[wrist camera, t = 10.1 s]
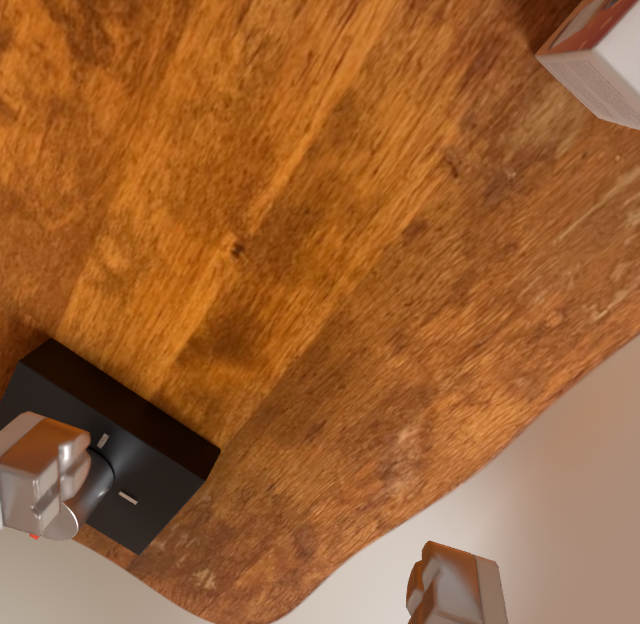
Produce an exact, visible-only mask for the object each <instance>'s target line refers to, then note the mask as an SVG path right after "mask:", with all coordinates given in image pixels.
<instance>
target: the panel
mask: <svg viewBox="0 0 640 624" xmlns="http://www.w3.org/2000/svg"><path fill="white" fill-rule="evenodd" d="M28 411H30V412H33V413H36V414H39V415H42V416H45V417H48V418H51V419H54V420H57V421H59V422H62V423H65V424H68V425H71V426H74V427H76V428H79V429H82V430H85V431H87V432H89V433H90V437H91V444H90V445H89V446H88V447H87V448H88V449H90V450H92V451H94V452H96V453H97V454H99V455H100V456H101V457H102V458H103V459H104V460H105V461H106V462H107V463H108V464H109V466H110V468H111V470H112V472H113V476H114V481H113V484H112V486H111V488H110V489H109V491H108V492H107V493H106V495H105V496H104V497H103V499H102V500H101V501H100V503H99V504H98V505H97V507H96V508H95V509H94V511H93V512H92V513H91V515H90V516H89V518H88V519H87V520H86V522H85V523H86V524H88V525H90V526H91V527H93V528H95V529H96V530H98V531H100V532H101V533H103V534H104V535H106V536H108V537H109V538H111V539H113V540H114V541H116V542H118V543H119V544H121V545H122V546H124V547H126V548H127V549H129V550H131V551H132V552H134V553H136V554H137V555H140V554H141V553H142V552H143V551H144V550H145V549H146V548H147V546H148V545H149V544H150V543H151V542H152V541H153V540H154V539H155V538H156V536H157V535H158V534H159V533H160V532H161V531H162V530H163V529H164V527H165V526H166V525H167V524H168V523H169V522H170V521H171V520H172V518H173V517H174V516H175V515H176V514H177V513H178V512H179V511H180V510H181V508H182V507H183V506H184V505H185V504H186V503H187V502H188V501H189V499H190V498H191V497H192V496H193V495H194V494H195V493H196V492H197V491H198V489H199V488H200V487H201V486H202V485H203V484H204V483H205V481H206V479H207V478H208V476H209V474H210V472H211V470H212V468H213V466H214V464H215V462H216V460H217V458H218V456H219V454H220V452H221V450H220V449H218V448H217V447H215V446H213V445H212V444H210V443H209V442H207V441H206V440H204V439H203V438H201V437H200V436H198V435H197V434H195V433H194V432H192V431H191V430H189V429H188V428H186V427H185V426H183V425H182V424H180V423H179V422H177V421H176V420H174V419H173V418H171V417H170V416H168V415H167V414H165V413H164V412H162V411H161V410H159V409H158V408H156V407H155V406H153V405H152V404H150V403H148V402H147V401H145V400H144V399H142V398H141V397H139V396H138V395H136V394H135V393H133V392H132V391H130V390H129V389H127V388H126V387H124V386H123V385H121V384H120V383H118V382H117V381H115V380H114V379H112V378H111V377H109V376H108V375H106V374H105V373H103V372H102V371H100V370H99V369H97V368H96V367H94V366H93V365H91V364H90V363H88V362H87V361H85V360H84V359H82V358H80V357H79V356H77V355H76V354H74V353H73V352H71V351H70V350H68V349H67V348H65V347H64V346H62V345H61V344H59V343H58V342H56V341H55V340H53V339H52V338H50V339H49V340H47V341H46V342H45V343H43V344H42V345H40V346H39V347H38V348H36V349H35V350H33V351H32V352H31V353H29V354H28V355H27V356H25V357H24V358H22V359H21V360H20V361H19V362H18V364H17V366H16V369H15V371H14V373H13V375H12V378H11V380H10V382H9V384H8V386H7V389H6V391H5V393H4V395H3V398H2V400H1V402H0V431H1V430H2V429H3V428H4V427H6V426H7V425H8V424H9V423H10V422H12V421H13V420H14V419H15V418H16V417H18V416H19V415H20V414H22V413H25V412H28Z"/></svg>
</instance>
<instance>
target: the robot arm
mask: <svg viewBox="0 0 640 624" xmlns="http://www.w3.org/2000/svg"><path fill="white" fill-rule="evenodd" d="M90 444H91V437H90V433H89V432H87V431H85V430H82V429H79V428H76V427H74V426H71V425H68V424H65V423H62V422H59V421H57V420H54V419H51V418H48V417H45V416H42V415H39V414H36V413H33V412H30V411H28V412H25V413H22V414H20V415H19V416H18V417H16V418H15V419H14V420H13V421H12V422H10V423H9V424H8V425H7V426H6V427H4V428H3V429H2V430H1V431H0V530H1V529H3V528H4V526H6V527H10V528H13V529H16V530H19V531H23V532H26V533H29V534H33V535H36V536H39V537H40V536H41V535H42V534H43V533H44V532H45V530H46V529H47V528H48V527H49V526H50V524H51V523H52V522H53V521H54V520H55V518H56V517H57V516H58V515H59V514H60V513H61V502H63V501H65V500H67V499H69V498H72V497H74V496H75V494H76V493H77V492H78V491H79V489H80V488H81V487H82V485H83V483H84V481H85V479H86V477H87V476H88V473H89V469H90V465H91V457H90V455H89V454H88V452H87V451H86V448H87V447H88V446H89V445H90ZM406 608H407V609H408V611H409V613H410V615H411V619H410V620H409V623H408V624H508V619H507V613H506V607H505V602H504V597H503V590H502V584H501V579H500V573H499V567H498V565H497V564H496V562H495V561H492V560H489V559H485V558H483V557H479V556H476V555H472V554H471V553H468V552H465V551H461V550H458V549H455V548H451V547H448V546H445V545H442V544H439V543H435V542H432V541H428V542H427V543H426V544H425V546H424V548H423V550H422V560H421V561H419V562H416V563H415V565H414V567H413V569H412V571H411V574H410V578H409V581H408V586H407V596H406Z"/></svg>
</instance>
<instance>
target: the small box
mask: <svg viewBox="0 0 640 624" xmlns="http://www.w3.org/2000/svg"><path fill="white" fill-rule="evenodd" d="M535 58H536V59H537V60H538V61H539V62H540V63H541V64H542V65H543V66H544V67H545V68H546V69H547V70H548V71H549V72H550V73H551V74H552V75H553V76H554V77H555V78H556V79H557V80H558V81H559V82H560V83H561V84H562V85H563V86H564V87H566V88H567V89H568V90H569V91H570V92H571V93H572V94H573V95H574V96H575V97H576V98H577V99H578V100H579V101H580V102H581V103H582V104H583V105H584V106H585V107H587V108H588V109H589V110H590V111H591V112H592V113H593V114H594V115H595V116H596V117H597V118H599V119H602V120H606V121H609V122H613V123H617V124H620V125H624V126H627V127H630V128H635V129H638V130H640V0H582V1H581V2H580V3H579V4H578V6H577V7H576V8H575V9H574V10H573V11H572V12H571V13H570V15H569V16H568V17H567V18H566V19H565V20H564V21H563V23H562V24H561V25H560V26H559V27H558V28H557V29H556V31H555V32H554V33H553V34H552V35H551V36H550V37H549V38H548V40H547V41H546V42H545V43H544V44H543V45H542V46H541V47H540V49H539V50H538V51H537V52H536V53H535Z"/></svg>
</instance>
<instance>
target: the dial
mask: <svg viewBox="0 0 640 624" xmlns="http://www.w3.org/2000/svg"><path fill="white" fill-rule="evenodd" d="M86 451H87V452H88V454H89V455H90V457H91V465H90V469H89V473H88V476H87V477H86V479H85V481H84V483H83V485H82V487H81V488H80V489H79V491H78V492H77V493H76V494H75V496H74V497H72V498H69V499H67V500H65V501H63V502H61V513H60V514H59V515H58V516H57V517H56V518H55V520H54V521H53V522H52V523H51V524H50V526H49V527H48V528H47V529H46V530H45V532H44V533H43V534H42V535H41V536H42V537H44V538H47V539H51V540H57V541H64V540H68V539H71V538H73V537H74V536H75V535H76V534H77V532H78V531H79V530H80V528H81V527H82V526H83V524H84V523H85V522H86V520H87V519H88V518H89V516H90V515H91V513H92V512H93V511H94V509H95V508H96V507H97V505H98V504H99V503H100V501H101V500H102V499H103V497H104V496H105V495H106V493H107V492H108V491H109V489H110V488H111V486H112V484H113V481H114V476H113V472H112V470H111V468H110V466H109V464H108V463H107V462H106V461H105V460H104V459H103V458H102V457H101V456H100V455H99V454H97V453H96V452H94V451H92V450H90V449H88V448H86ZM30 536H31V537H33V538H34V539H38V538H39V536H36V535H33V534H30Z"/></svg>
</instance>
